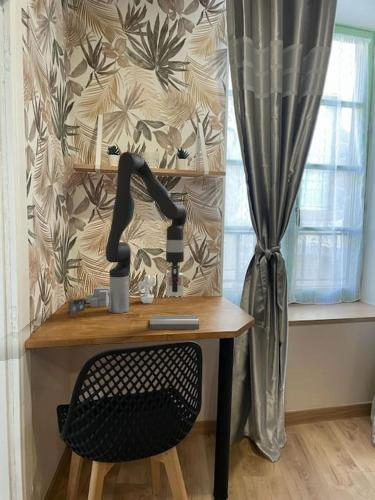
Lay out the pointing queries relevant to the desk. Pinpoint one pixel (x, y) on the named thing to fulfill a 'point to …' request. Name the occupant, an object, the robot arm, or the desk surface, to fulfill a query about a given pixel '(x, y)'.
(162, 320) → the shelf board
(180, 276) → the tea carton
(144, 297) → the white potted plant
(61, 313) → the desk surface
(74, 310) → the mini dv tape
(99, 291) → the grey stepped block
